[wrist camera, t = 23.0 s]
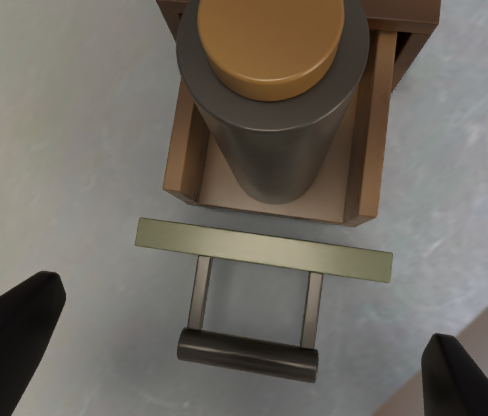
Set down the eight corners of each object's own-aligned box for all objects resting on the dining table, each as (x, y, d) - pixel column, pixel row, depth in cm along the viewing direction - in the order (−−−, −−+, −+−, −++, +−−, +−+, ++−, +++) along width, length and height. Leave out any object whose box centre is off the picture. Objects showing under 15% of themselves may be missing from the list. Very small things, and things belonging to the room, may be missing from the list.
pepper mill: (295, 219, 21) (323, 154, 8) (219, 182, 21) (125, 65, 8) (332, 142, 21) (417, -42, 8) (256, 108, 21) (221, -114, 9)
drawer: (352, 370, 21) (377, 408, 15) (154, 336, 22) (114, 361, 16) (386, 67, 22) (418, 8, 17) (201, 49, 23) (178, -11, 18)
